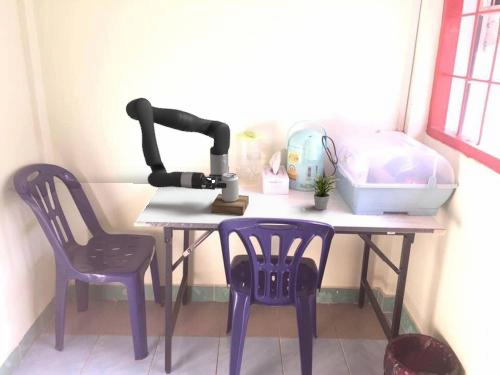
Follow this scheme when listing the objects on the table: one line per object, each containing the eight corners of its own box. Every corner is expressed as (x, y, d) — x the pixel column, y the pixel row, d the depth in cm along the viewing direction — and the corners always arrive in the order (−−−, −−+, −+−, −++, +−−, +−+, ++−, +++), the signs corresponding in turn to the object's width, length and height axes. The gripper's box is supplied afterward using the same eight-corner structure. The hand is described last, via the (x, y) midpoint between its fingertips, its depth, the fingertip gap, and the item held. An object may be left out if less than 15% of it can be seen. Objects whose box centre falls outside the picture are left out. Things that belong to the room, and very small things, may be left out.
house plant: (330, 217, 187) (333, 181, 182) (300, 210, 193) (302, 175, 188) (340, 206, 199) (343, 172, 194) (312, 201, 205) (314, 168, 200)
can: (236, 203, 190) (236, 177, 186) (219, 202, 191) (219, 176, 187) (240, 197, 197) (240, 172, 193) (224, 196, 198) (224, 171, 194)
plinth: (219, 201, 203) (219, 193, 202) (248, 204, 201) (248, 195, 199) (211, 212, 190) (211, 204, 189) (242, 215, 188) (242, 206, 186)
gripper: (187, 177, 186) (224, 179, 184) (197, 167, 200) (231, 170, 197) (188, 193, 189) (224, 196, 186) (197, 183, 202) (231, 185, 199)
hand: (228, 182), depth 192 cm, fingers open, 8 cm apart
